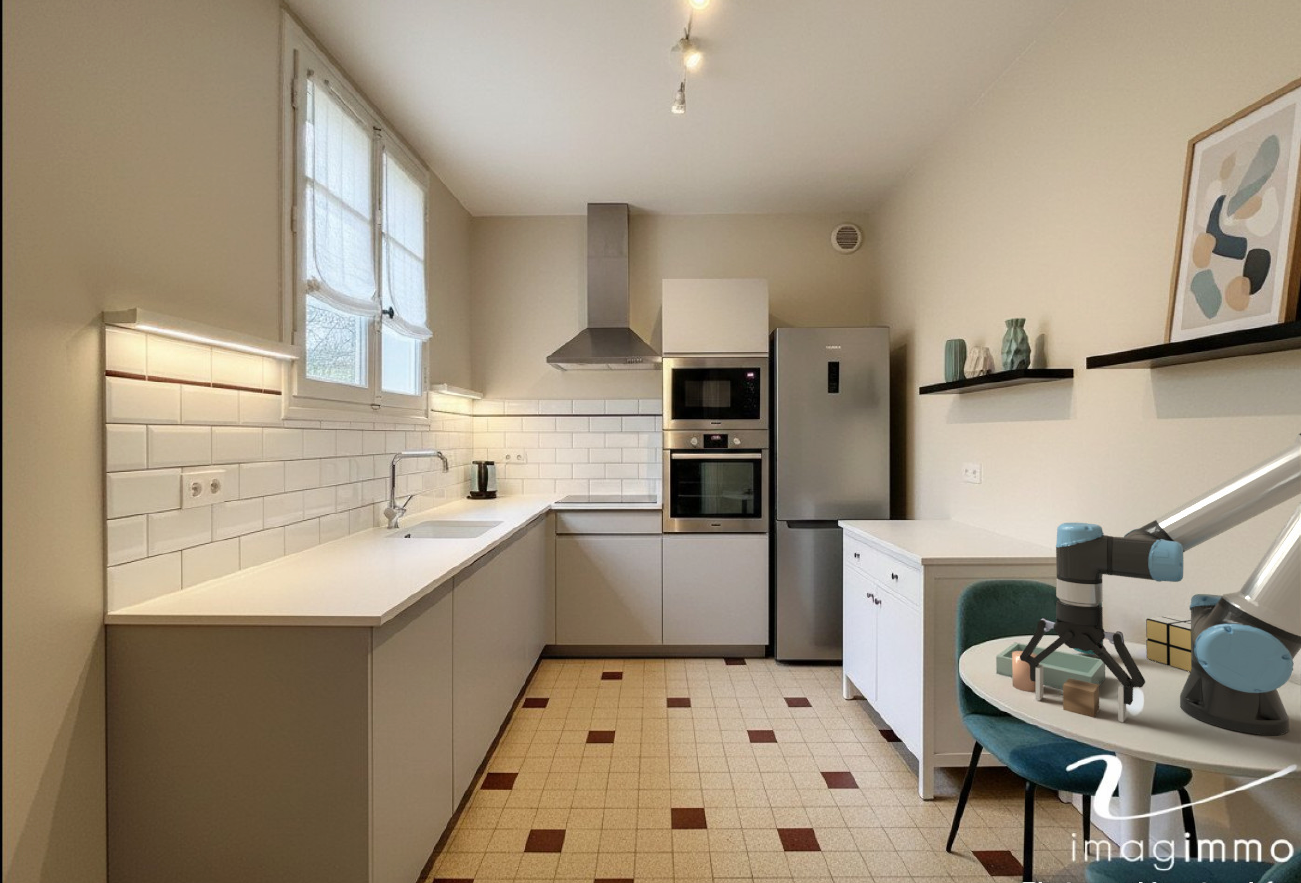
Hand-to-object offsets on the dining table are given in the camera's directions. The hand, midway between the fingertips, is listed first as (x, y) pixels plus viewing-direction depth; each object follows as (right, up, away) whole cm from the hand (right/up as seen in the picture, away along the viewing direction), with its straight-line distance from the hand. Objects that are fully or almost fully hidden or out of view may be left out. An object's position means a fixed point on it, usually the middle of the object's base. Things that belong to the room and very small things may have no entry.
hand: (1079, 708), depth 122 cm
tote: (+5, 0, +17) cm, 18 cm away
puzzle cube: (+42, 0, +24) cm, 48 cm away
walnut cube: (0, 0, 0) cm, 0 cm away
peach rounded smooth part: (-4, 0, +11) cm, 12 cm away
